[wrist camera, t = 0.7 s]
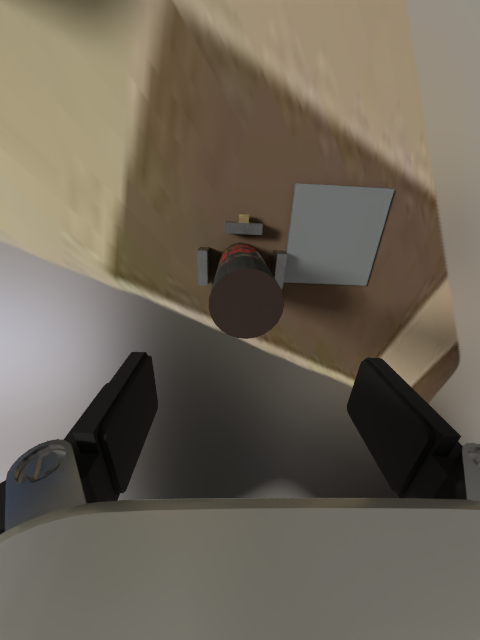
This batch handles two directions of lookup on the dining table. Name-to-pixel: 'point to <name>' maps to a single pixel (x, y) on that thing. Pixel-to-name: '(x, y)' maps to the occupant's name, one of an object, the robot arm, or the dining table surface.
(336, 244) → the coaster
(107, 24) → the dining table surface
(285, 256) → the collar
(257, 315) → the deodorant
